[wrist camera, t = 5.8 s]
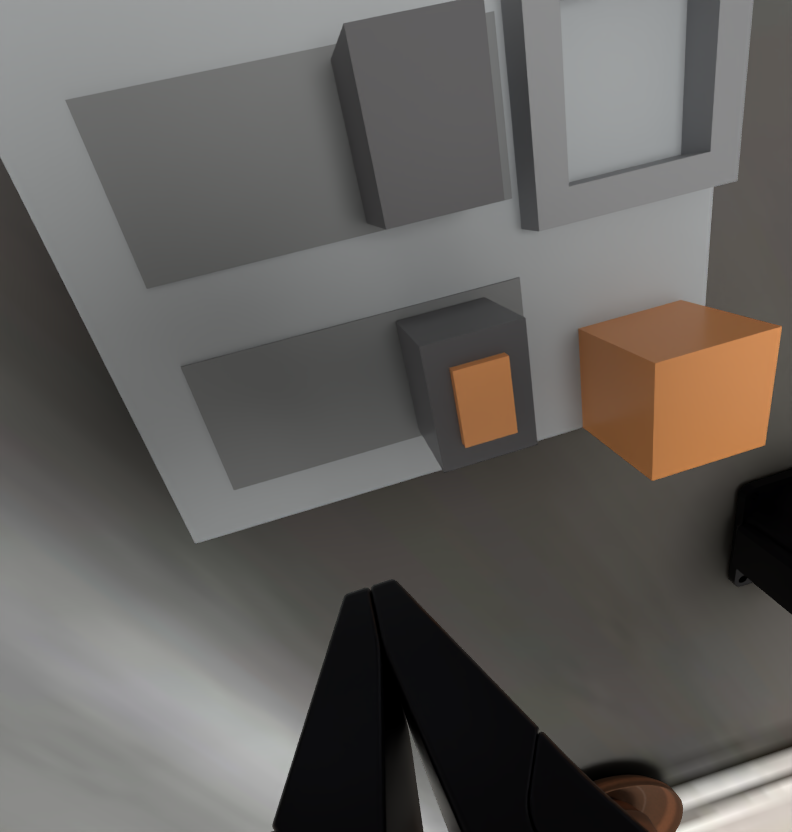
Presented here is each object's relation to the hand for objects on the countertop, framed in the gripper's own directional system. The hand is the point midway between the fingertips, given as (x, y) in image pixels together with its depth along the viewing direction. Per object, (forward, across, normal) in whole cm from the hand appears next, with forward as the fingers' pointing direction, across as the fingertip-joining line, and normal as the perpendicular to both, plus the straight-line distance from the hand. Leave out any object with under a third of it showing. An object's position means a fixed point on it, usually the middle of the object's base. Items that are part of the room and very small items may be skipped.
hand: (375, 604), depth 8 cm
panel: (+11, -4, -4) cm, 12 cm away
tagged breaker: (+9, -4, 0) cm, 10 cm away
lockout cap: (+9, -11, +2) cm, 15 cm away
